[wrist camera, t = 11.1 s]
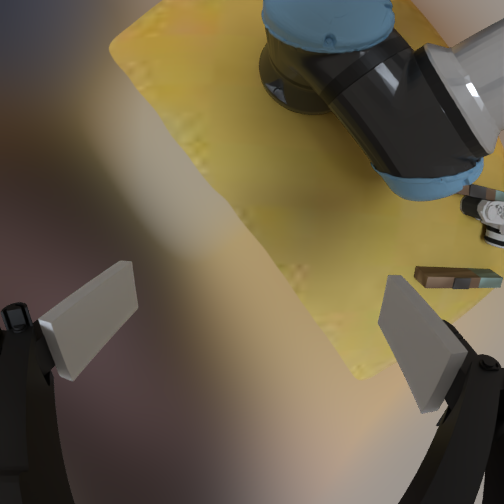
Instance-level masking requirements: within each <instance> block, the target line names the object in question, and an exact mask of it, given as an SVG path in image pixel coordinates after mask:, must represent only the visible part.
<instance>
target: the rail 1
mask: <svg viewBox="0 0 504 504" xmlns="http://www.w3.org/2000/svg"><path fill="white" fill-rule="evenodd" d="M457 194H462V195H468V196H472V197H477V198H482V199H487V200H491V201H504V192H501V191H498V190H494V189H490V188H486V187H482V186H478V185H474V184H471V185H465V186H463V189H462V190H461V191H459V192H457Z"/></svg>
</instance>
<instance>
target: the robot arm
mask: <svg viewBox="0 0 504 504" xmlns="http://www.w3.org/2000/svg"><path fill="white" fill-rule="evenodd" d="M392 7H393V6H392V3H391V1H390V0H263V10H262V20H263V24H265V30H266V36H267V44H266V45H265V47H264V48H263V50H262V53H261V56H260V61H259V72H260V76H261V80H262V83H263V85H264V87H265V89H266V91H267V92H268V94H269V95H270V96H271V97H272V98H273V99H274V100H275V101H276V102H277V103H279V104H280V105H281V106H283V107H285V108H287V109H289V110H291V111H294V112H297V113H301V114H308V115H318V114H324V113H328V112H331V111H332V112H333V113H334V114H335V115H336V117H337V118H338V119H339V120H340V122H341V123H342V124H343V125H344V126H345V128H346V129H347V130H348V132H349V133H350V134H351V135H352V137H353V138H354V139H355V141H356V142H357V143H358V145H359V146H360V147H361V149H362V150H363V151H364V153H365V154H366V155H367V157H368V158H369V160H370V161H371V166H372V167H373V169H374V170H375V171H376V172H377V173H378V174H379V175H381V177H382V178H383V179H384V181H385V182H386V183H387V185H388V186H389V188H390V189H391V190H392V191H393V192H394V193H395V194H397V195H398V196H400V197H402V198H404V199H407V200H411V201H430V200H436V199H440V198H444V197H447V196H450V195H453V194H455V193H457V192H459V191H461V190H462V189H463V186H465V185H471V184H472V183H473V182H474V181H475V180H476V179H477V178H478V177H479V176H480V174H481V172H482V170H483V165H484V164H483V157H484V156H487V155H489V154H491V153H493V152H494V149H495V145H496V142H497V138H498V135H499V134H500V131H502V130H504V18H503V19H501V20H500V21H498V22H496V23H494V24H492V25H490V26H488V27H487V28H485V29H483V30H481V31H479V32H478V33H476V34H474V35H472V36H471V37H469V38H467V39H465V40H464V41H462V42H460V43H459V44H457V45H455V46H454V47H452V48H445V47H442V46H438V45H434V44H430V43H426V44H425V45H423V46H422V47H420V48H419V49H417V50H416V51H414V50H413V49H412V48H411V47H410V46H409V44H408V43H407V42H406V41H405V40H404V39H403V38H402V36H401V35H400V34H399V33H398V32H397V31H396V30H395V29H394V23H395V19H394V18H395V17H394V13H393V12H392ZM137 309H138V302H137V296H136V289H135V282H134V274H133V267H132V262H131V261H119V262H117V263H116V264H114V265H113V266H111V267H110V268H108V269H107V270H106V271H104V272H103V273H101V274H100V275H98V276H97V277H95V278H94V279H92V280H91V281H90V282H88V283H87V284H85V285H84V286H83V287H81V288H80V289H78V290H77V291H75V292H74V293H73V294H71V295H70V296H69V297H67V298H66V299H64V300H63V301H62V302H60V303H59V304H57V305H56V306H55V307H53V308H52V309H51V310H50V311H48V312H47V313H46V314H44V315H43V316H42V317H40V318H39V319H38V320H36V321H35V322H34V323H32V320H31V317H30V314H29V310H28V307H27V305H26V304H25V303H22V302H18V303H13V304H10V305H8V306H6V307H5V308H3V309H2V311H1V315H2V318H3V321H4V324H5V327H6V329H7V331H5V330H1V328H0V504H75V503H74V500H73V496H72V493H71V489H70V485H69V482H68V478H67V474H66V469H65V465H64V460H63V455H62V449H61V444H60V438H59V431H58V424H57V415H56V406H55V393H54V377H53V374H52V372H51V369H52V368H53V367H54V366H56V368H57V371H58V373H59V375H60V377H63V378H66V379H68V380H71V381H74V380H75V379H76V377H77V376H78V375H79V374H80V373H81V371H82V370H83V369H84V368H85V367H86V366H87V365H88V363H89V362H90V361H91V360H92V359H93V358H94V357H95V355H96V354H97V353H98V352H99V351H100V349H101V348H102V347H103V346H104V345H105V344H106V343H107V342H108V341H109V339H110V338H111V337H112V336H113V335H114V334H115V333H116V332H117V331H118V329H119V328H120V327H121V326H122V325H123V324H124V323H125V322H126V321H127V320H128V319H129V317H130V316H131V315H132V314H133V313H134V312H135V311H136V310H137ZM378 324H379V326H380V328H381V330H382V332H383V334H384V336H385V338H386V340H387V342H388V344H389V346H390V348H391V350H392V352H393V354H394V356H395V358H396V360H397V362H398V364H399V366H400V368H401V370H402V372H403V374H404V376H405V378H406V380H407V382H408V385H409V387H410V389H411V391H412V394H413V396H414V398H415V400H416V402H417V405H418V407H419V409H420V411H421V413H422V414H423V413H428V412H433V411H437V410H438V409H439V408H440V406H441V404H442V403H443V401H444V399H445V400H446V402H447V404H448V407H447V409H446V410H445V412H444V414H443V415H442V417H441V418H440V420H439V422H438V423H437V425H436V426H439V427H438V429H437V432H436V434H435V436H434V439H433V441H432V443H431V445H430V448H429V449H428V451H427V454H426V456H425V458H424V460H423V461H422V463H421V465H420V467H419V469H418V471H417V473H416V475H415V477H414V478H413V480H412V482H411V484H410V485H409V487H408V489H407V490H406V492H405V494H404V495H403V497H402V498H401V500H400V502H399V503H398V504H474V502H475V499H476V496H477V493H478V491H479V488H480V484H481V482H482V479H483V475H484V472H485V482H484V492H483V500H482V504H504V368H501V366H500V364H499V362H498V361H497V360H495V359H494V358H493V357H491V356H488V355H484V354H481V355H477V353H476V352H475V351H474V350H473V349H472V347H471V346H470V345H469V344H468V343H467V341H466V340H465V339H463V337H462V335H461V334H459V332H458V331H457V330H456V328H455V327H454V326H453V325H451V324H450V323H448V322H447V321H445V320H442V319H441V318H440V317H439V316H438V315H437V314H436V312H435V311H434V310H433V309H432V308H431V307H430V306H429V305H428V304H427V302H426V301H425V300H424V299H423V298H422V297H421V296H420V295H419V294H418V293H417V291H416V290H415V289H414V288H413V287H412V286H411V285H410V284H409V283H408V282H407V281H406V280H405V279H404V278H403V277H402V276H401V275H388V278H387V284H386V289H385V293H384V298H383V303H382V307H381V311H380V316H379V320H378Z"/></svg>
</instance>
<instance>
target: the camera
mask: <svg viewBox="0 0 504 504" xmlns="http://www.w3.org/2000/svg"><path fill="white" fill-rule="evenodd" d="M460 209H461V211H462V213H463V214H465V215H469V216H472V217H475V218H476V219H477V220H481V223H484V224H486V225H487V227H486V233H485V236H484V239H485V242H486V243H488V244H490V245H492V246H495V247H499V248H504V201H491V200H487V199H482V198H477V197H472V196H468V195H465V196H464V197H463V198H462V200H461V204H460Z"/></svg>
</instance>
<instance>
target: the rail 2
mask: <svg viewBox="0 0 504 504" xmlns="http://www.w3.org/2000/svg"><path fill="white" fill-rule="evenodd" d="M414 277H415V278H416V279H417V280H418V281H419V282H420V283H421V284H422V285H423V286H424V287H425V288H452V289H469V288H497V287H501V283H502V280H503V278H502V277H501V276H499V275H498V274H496V273H495V272H493V271H492V270H490V269H472V268H445V267H419V266H416V269H415V274H414Z"/></svg>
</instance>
